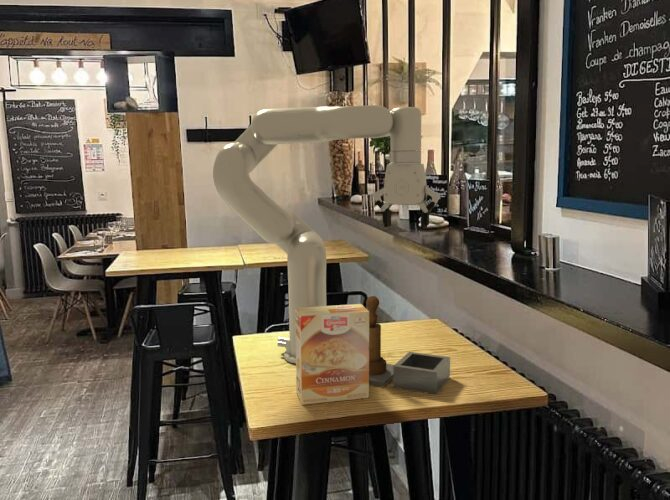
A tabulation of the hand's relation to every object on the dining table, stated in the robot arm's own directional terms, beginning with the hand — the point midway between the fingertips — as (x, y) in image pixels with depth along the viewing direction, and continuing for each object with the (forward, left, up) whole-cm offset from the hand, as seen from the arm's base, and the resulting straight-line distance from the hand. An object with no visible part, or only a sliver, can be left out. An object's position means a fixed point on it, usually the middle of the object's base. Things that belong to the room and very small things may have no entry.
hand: (405, 227), depth 157 cm
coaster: (-2, -17, -33) cm, 37 cm away
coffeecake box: (-6, -32, -34) cm, 47 cm away
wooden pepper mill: (-2, -17, -33) cm, 37 cm away
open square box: (+10, -17, -33) cm, 39 cm away
